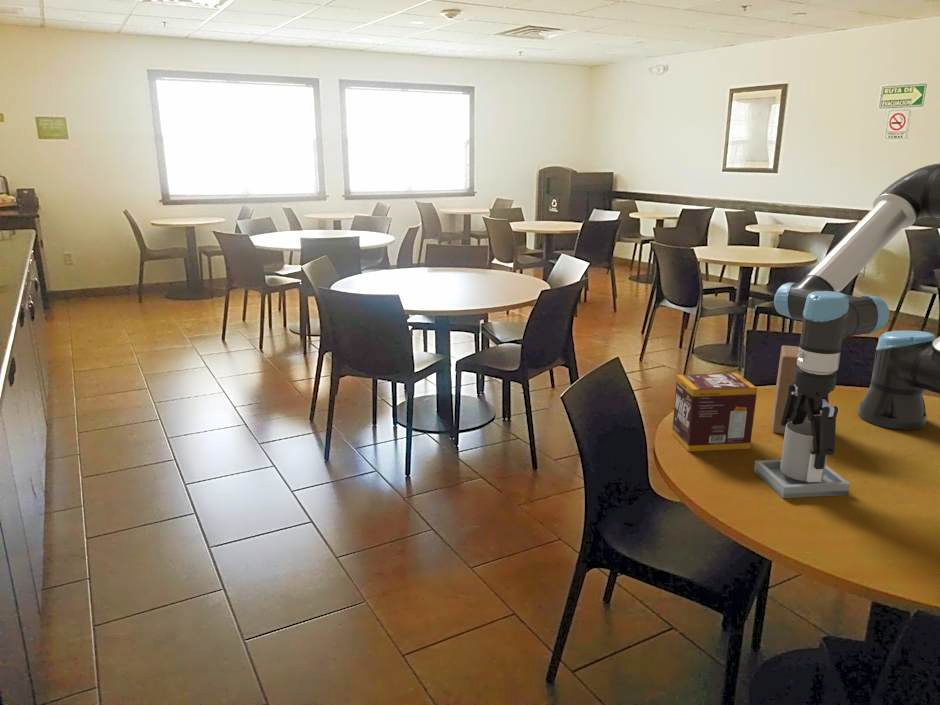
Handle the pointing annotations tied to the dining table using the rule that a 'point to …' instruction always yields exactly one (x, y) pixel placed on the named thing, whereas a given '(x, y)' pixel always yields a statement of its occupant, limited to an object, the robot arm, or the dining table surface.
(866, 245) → the robot arm
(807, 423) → the cup
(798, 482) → the tray
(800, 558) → the dining table surface
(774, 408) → the wooden block
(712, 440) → the supplement box
